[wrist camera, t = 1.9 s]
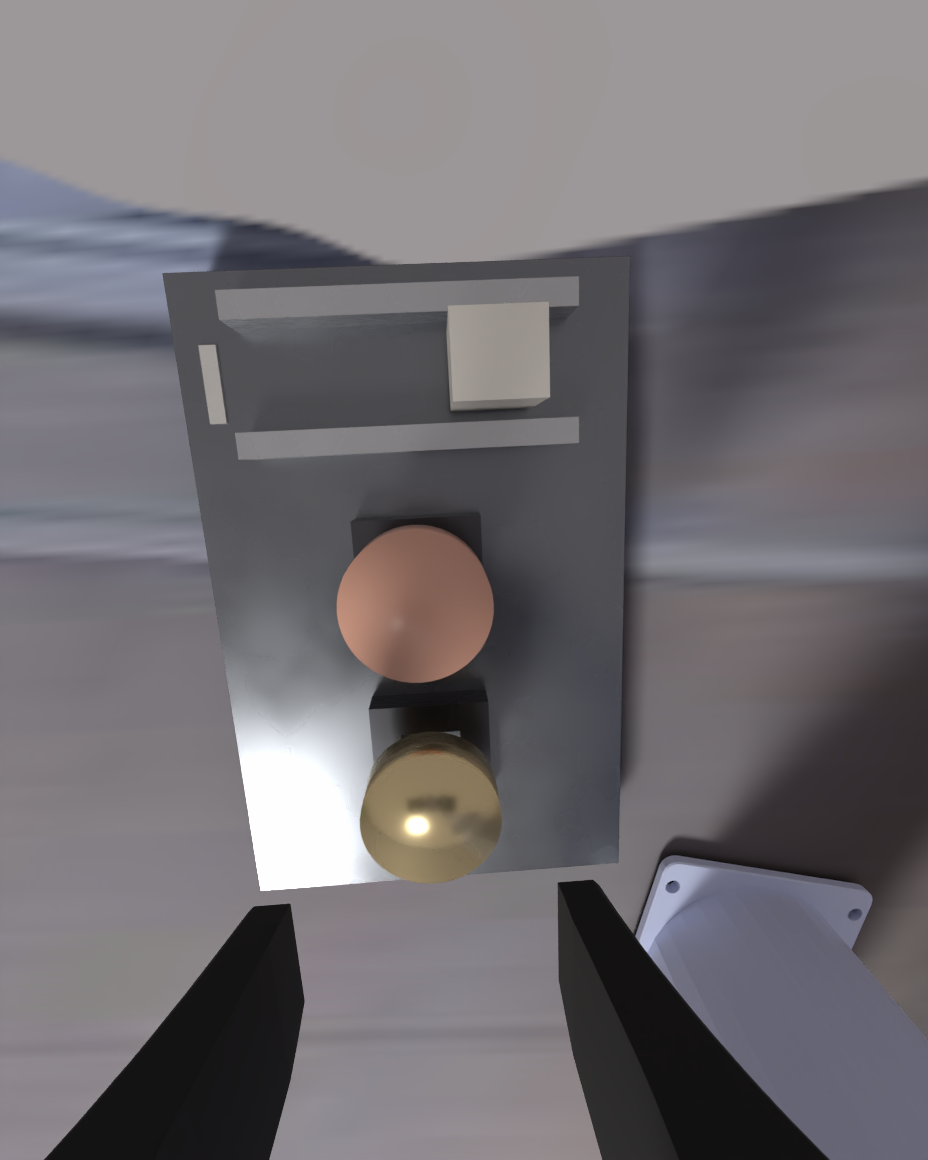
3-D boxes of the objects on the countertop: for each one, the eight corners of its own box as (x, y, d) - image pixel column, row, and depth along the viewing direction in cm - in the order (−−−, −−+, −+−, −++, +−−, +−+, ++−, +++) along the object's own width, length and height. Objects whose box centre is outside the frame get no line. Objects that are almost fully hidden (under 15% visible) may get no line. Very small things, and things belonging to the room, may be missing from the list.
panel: (599, 820, 18) (629, 888, 15) (280, 844, 18) (249, 918, 15) (604, 284, 15) (646, 238, 12) (200, 299, 14) (138, 256, 11)
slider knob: (531, 408, 13) (550, 397, 11) (450, 411, 13) (453, 401, 11) (529, 328, 13) (548, 301, 10) (446, 332, 12) (447, 305, 10)
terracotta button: (487, 644, 13) (496, 678, 11) (359, 652, 13) (344, 687, 11) (482, 516, 12) (490, 527, 10) (346, 523, 12) (328, 536, 10)
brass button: (494, 818, 14) (504, 877, 12) (376, 826, 14) (366, 888, 12) (490, 710, 14) (499, 754, 12) (366, 718, 13) (353, 764, 11)
